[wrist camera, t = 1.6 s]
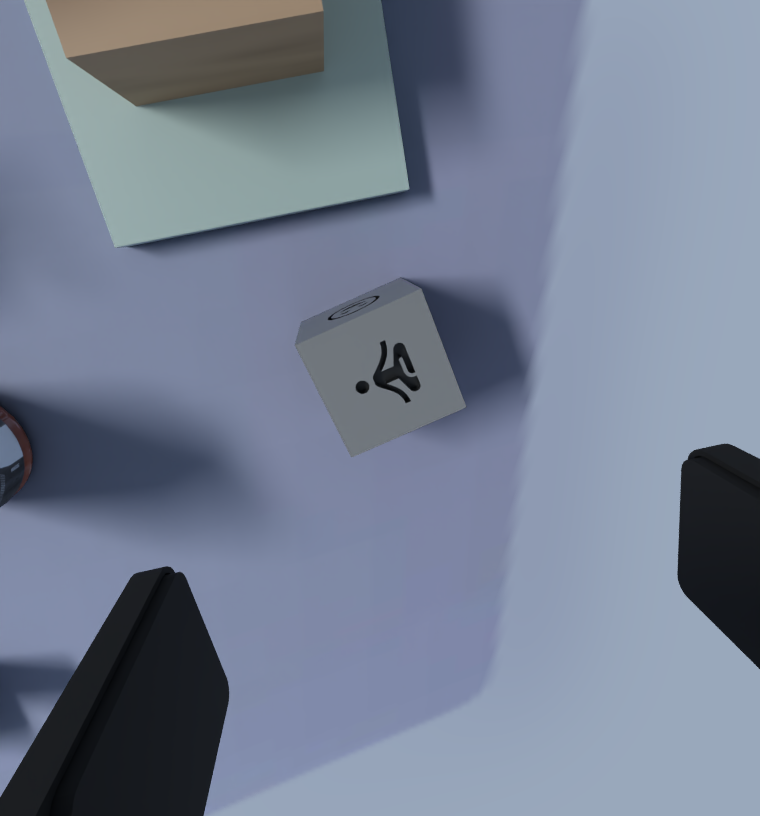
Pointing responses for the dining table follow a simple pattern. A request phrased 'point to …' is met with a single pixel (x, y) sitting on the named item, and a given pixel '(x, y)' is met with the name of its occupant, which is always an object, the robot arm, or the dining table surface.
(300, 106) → the build board
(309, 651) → the dining table surface
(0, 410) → the supplement bottle
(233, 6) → the base brick
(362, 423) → the dice cube
